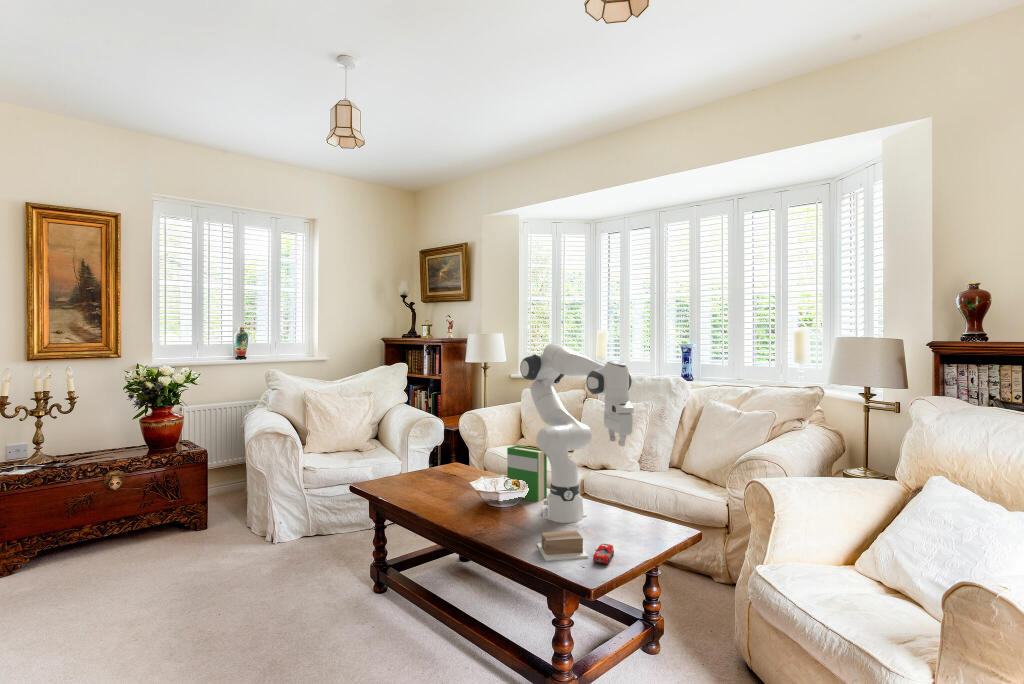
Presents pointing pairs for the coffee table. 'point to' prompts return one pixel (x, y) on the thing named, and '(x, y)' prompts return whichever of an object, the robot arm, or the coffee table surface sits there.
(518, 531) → the coffee table surface
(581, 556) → the board
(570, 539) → the walnut block
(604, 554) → the race car
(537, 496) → the hardback book
